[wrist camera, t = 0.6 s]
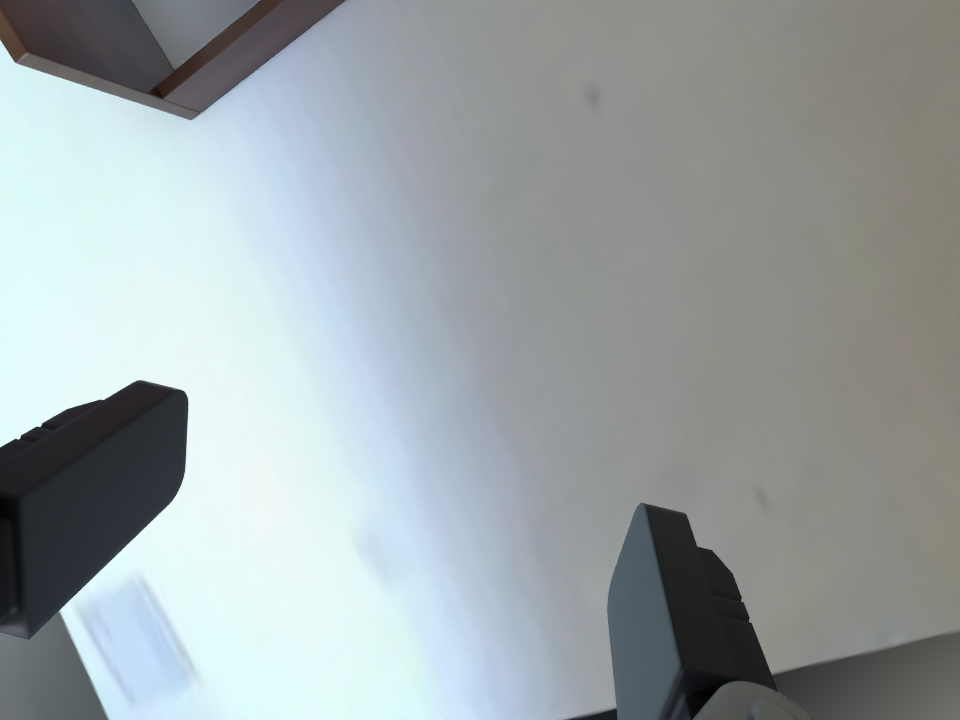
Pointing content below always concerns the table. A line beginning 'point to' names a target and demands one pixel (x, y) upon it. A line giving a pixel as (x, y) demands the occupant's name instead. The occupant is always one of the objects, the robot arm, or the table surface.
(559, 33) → the table surface
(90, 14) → the walnut crate
